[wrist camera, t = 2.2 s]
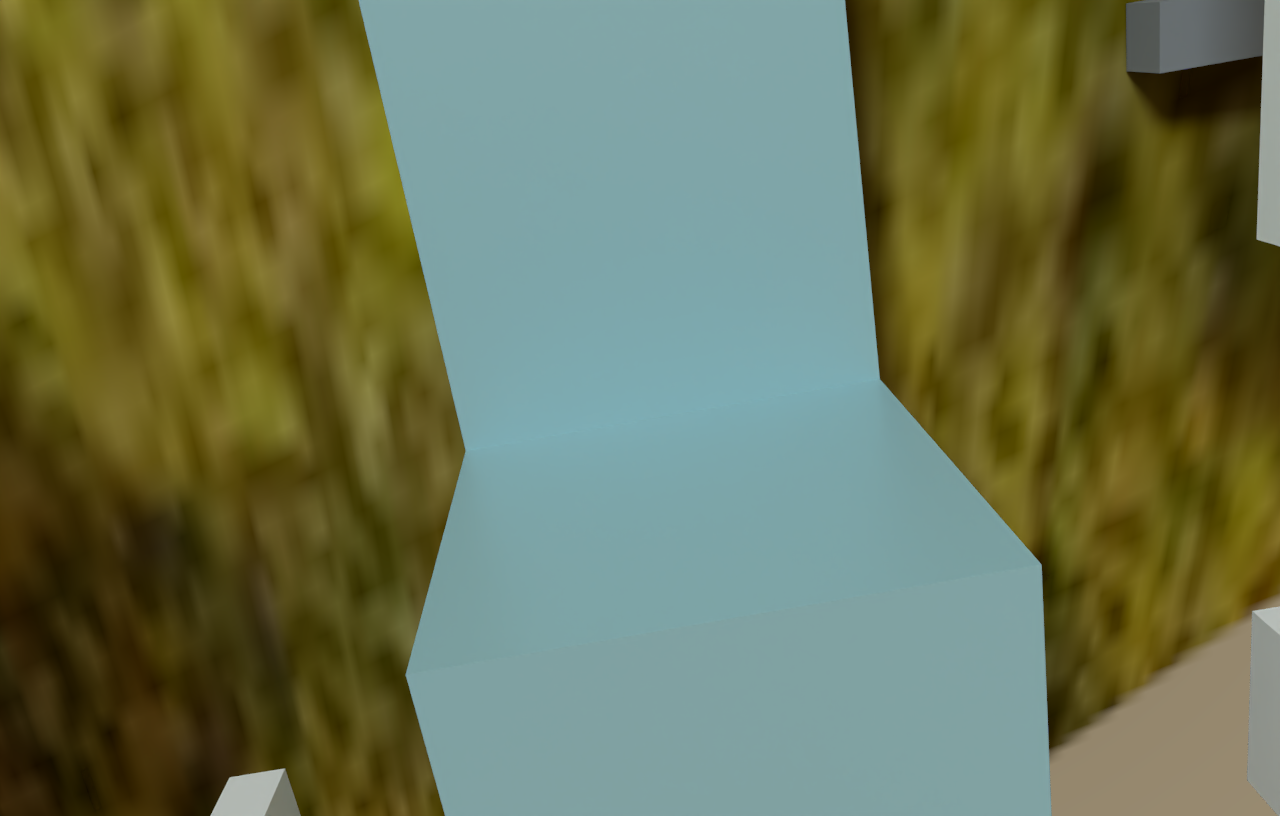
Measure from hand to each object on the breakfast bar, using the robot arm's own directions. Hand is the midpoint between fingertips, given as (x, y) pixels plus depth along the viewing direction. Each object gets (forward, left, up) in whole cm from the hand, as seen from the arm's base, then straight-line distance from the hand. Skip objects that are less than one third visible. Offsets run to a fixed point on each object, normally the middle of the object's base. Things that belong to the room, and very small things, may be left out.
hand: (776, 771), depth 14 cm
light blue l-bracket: (0, +9, -9) cm, 13 cm away
